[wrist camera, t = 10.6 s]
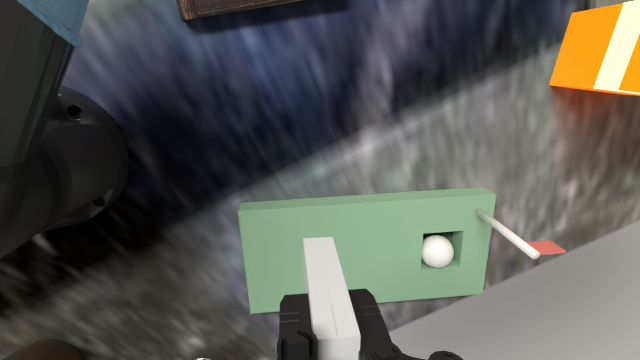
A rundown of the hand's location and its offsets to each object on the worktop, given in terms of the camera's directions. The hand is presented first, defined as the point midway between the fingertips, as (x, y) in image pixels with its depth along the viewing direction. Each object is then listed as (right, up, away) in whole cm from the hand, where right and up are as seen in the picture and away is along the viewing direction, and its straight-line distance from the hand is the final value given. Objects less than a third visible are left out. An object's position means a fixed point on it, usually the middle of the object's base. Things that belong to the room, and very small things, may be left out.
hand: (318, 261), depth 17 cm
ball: (+15, -5, +25) cm, 29 cm away
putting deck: (+6, -4, +26) cm, 27 cm away
